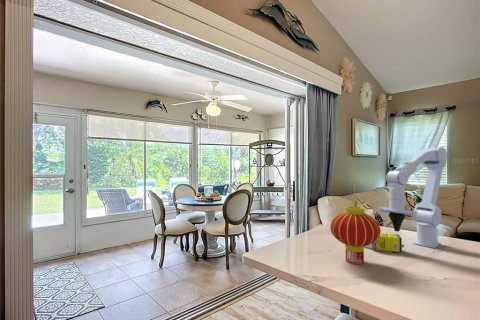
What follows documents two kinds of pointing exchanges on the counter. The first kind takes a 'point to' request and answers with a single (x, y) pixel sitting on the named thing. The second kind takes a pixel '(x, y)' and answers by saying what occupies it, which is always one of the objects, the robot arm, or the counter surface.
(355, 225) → the lantern
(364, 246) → the rubber mat
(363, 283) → the counter surface
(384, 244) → the supplement box
